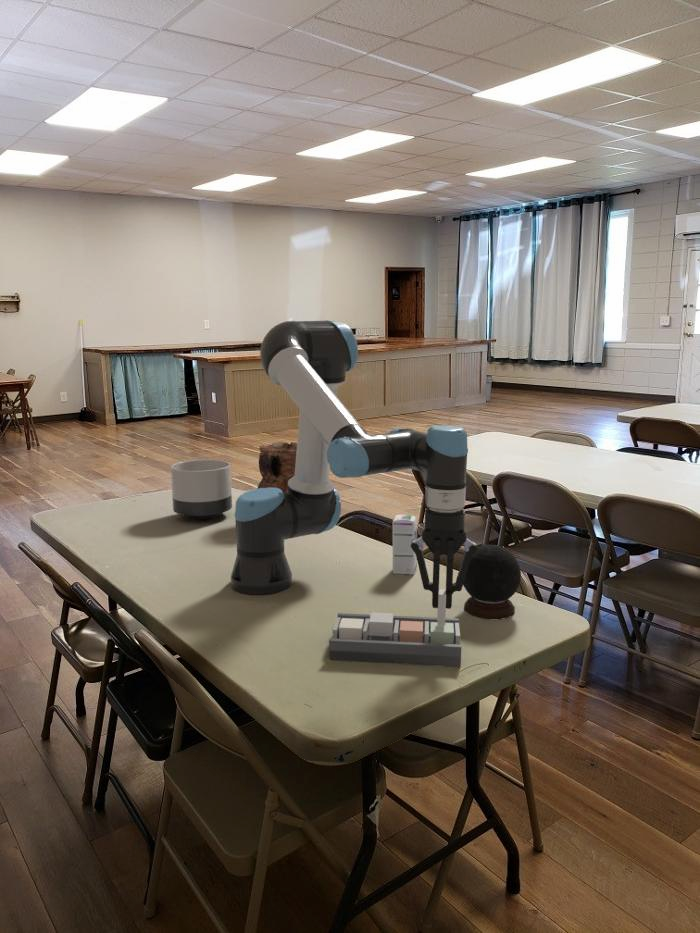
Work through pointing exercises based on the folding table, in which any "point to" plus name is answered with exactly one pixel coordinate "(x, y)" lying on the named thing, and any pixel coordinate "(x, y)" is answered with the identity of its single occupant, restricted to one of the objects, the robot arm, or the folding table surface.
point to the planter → (201, 488)
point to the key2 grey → (381, 623)
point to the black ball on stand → (491, 582)
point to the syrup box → (404, 544)
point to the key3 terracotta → (411, 631)
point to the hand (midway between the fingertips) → (441, 622)
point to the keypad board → (395, 644)
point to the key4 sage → (442, 633)
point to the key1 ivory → (351, 628)
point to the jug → (277, 464)
